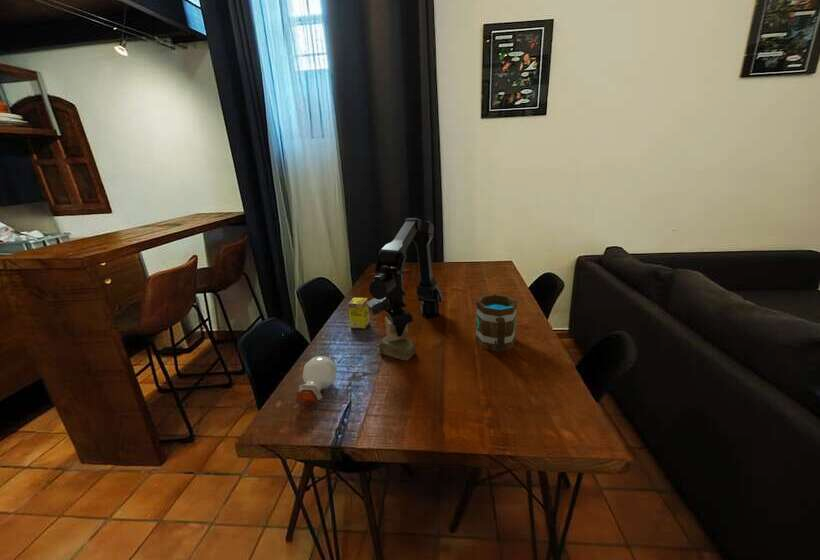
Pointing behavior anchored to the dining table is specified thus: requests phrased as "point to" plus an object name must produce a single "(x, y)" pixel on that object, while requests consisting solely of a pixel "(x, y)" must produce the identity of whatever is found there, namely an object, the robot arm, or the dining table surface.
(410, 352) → the stone block
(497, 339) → the mug
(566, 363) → the dining table surface
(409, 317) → the robot arm
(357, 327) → the supplement box
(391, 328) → the beige cube
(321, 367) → the potion bottle
